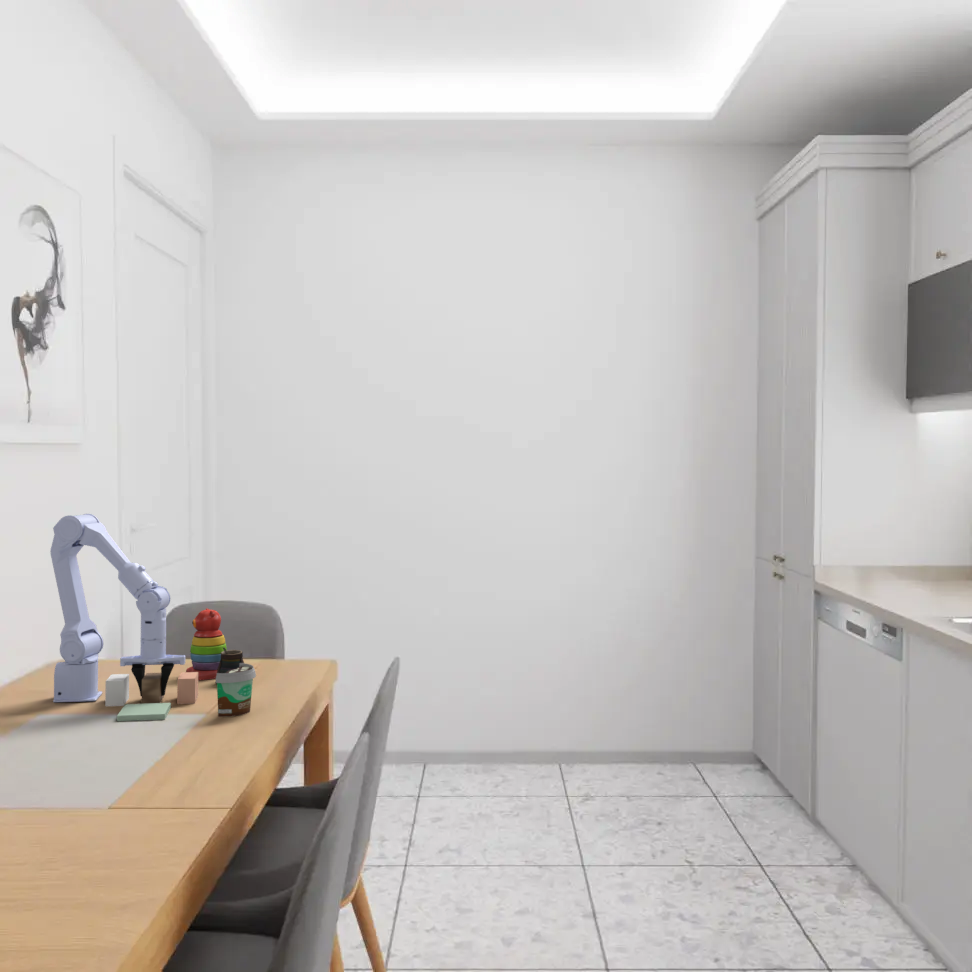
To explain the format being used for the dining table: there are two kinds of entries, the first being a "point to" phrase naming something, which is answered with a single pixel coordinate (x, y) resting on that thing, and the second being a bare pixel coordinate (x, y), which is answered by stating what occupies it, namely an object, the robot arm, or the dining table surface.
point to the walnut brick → (151, 688)
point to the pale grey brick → (117, 690)
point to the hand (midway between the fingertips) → (152, 695)
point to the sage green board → (144, 711)
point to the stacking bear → (206, 645)
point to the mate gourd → (230, 660)
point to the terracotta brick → (187, 688)
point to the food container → (235, 690)
